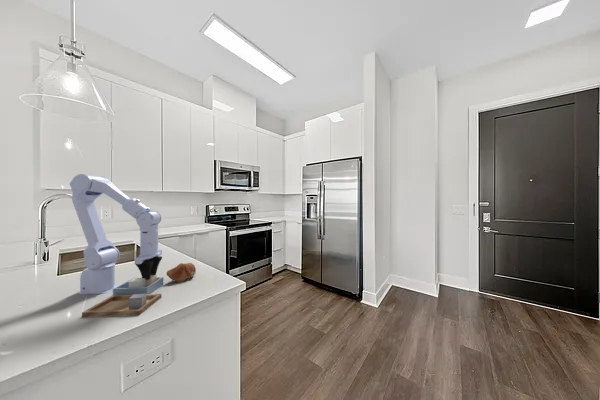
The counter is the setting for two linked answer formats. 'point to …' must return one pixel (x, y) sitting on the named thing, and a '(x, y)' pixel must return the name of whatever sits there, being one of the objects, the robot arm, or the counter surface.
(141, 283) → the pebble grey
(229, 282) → the counter surface
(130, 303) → the matte stone cube
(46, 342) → the counter surface
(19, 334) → the counter surface
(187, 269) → the bread loaf
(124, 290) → the dish
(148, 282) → the cream cube
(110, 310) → the tray
